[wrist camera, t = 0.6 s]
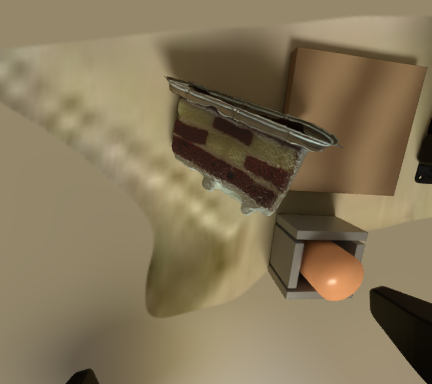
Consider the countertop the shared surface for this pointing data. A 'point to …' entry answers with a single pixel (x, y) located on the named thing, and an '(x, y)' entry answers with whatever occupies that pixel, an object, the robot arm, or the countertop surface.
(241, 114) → the chocolate cake
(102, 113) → the countertop surface
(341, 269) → the brown egg
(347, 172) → the serving board
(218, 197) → the countertop surface
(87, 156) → the countertop surface
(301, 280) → the housing
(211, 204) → the countertop surface
